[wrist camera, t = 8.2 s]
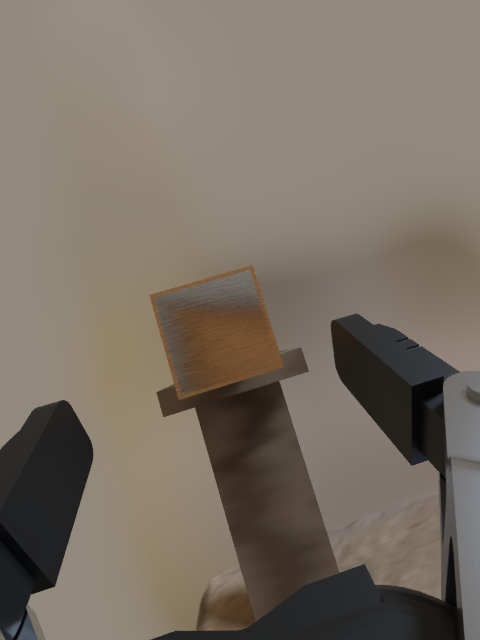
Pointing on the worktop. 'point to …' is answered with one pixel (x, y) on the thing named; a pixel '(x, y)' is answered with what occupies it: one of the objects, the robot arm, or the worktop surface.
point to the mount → (262, 483)
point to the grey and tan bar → (216, 332)
